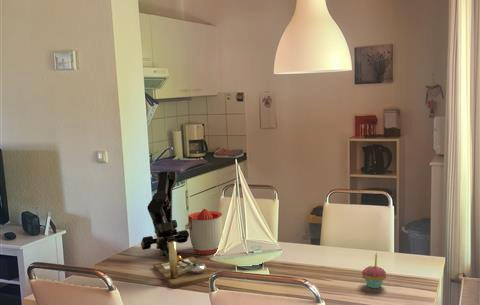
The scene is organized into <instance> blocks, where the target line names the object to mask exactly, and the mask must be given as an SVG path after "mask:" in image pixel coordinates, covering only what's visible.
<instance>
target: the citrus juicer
mask: <svg viewBox="0 0 480 305" xmlns="http://www.w3.org/2000/svg"><path fill="white" fill-rule="evenodd" d="M184 230H189V231H188V232H189V239H190V244H191V246H192V249H193V251H194V253H195V254H199V256H200V255H202V256H203V255H211V254H215V252H216V251H217V249H218V245H219V242H220V238H221V234H222V232H223V213H222V212H220V211H214V210H212V211H211V210H208V209H206V208H203V209H202V210H201V211H198V212H197V211H196V212H191V213H190V214H188V223H186V224H185V226H184ZM222 235H223V234H222Z"/></svg>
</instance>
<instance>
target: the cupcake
mask: <svg viewBox="0 0 480 305" xmlns="http://www.w3.org/2000/svg"><path fill="white" fill-rule="evenodd" d="M377 260H378V255H377V252H375V254H374V265H372V266H371V265H370V266H367V267H365V268H364V269H363V270H362V272H361V276H362V278H363V279H364V280H365V283H366V286H367V287H368V288H369V287H371V289H373V288H377V289H380V288H381V287H382V284H383V282H384V280H386V279H387V272H386V271H385V270H384V268H382V267H379V266H377V264H378V263H377V262H378V261H377ZM379 287H380V288H379Z"/></svg>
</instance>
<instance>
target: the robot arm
mask: <svg viewBox="0 0 480 305" xmlns="http://www.w3.org/2000/svg"><path fill="white" fill-rule="evenodd" d="M156 175H157V177H156V178H157V181H156V182H157V188H156V192H155V193H154V194H153V195H152V198H151V200H150V202H149V203H148V205H147V211H148V214H149V216H150V218H151V221H152V225H153V228H154V233H155V236H156V238H154V237H153V235H148V236H143V237H142V239H141V242H140V247H141V250H142V251H146V250H150V249H151V247H152V245H154V244H155V245H156V249H157V250H159V251H161V253H159V256H162V257H166V258H168V259H169V249H168V242H169V241H176V243H178V244H184V243H186V242H187V241H188V240H189V238H190V232H189V231H188V229H184V230H178V229H177V228H178V221H177V220H176V219H173V190H174V188H175V186H176V184H177V181H178V174H177V172H176V171H174V170H160V171H158V172H157V173H156ZM179 254H180V252H179V251H177V255H179Z"/></svg>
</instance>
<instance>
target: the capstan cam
mask: <svg viewBox="0 0 480 305" xmlns="http://www.w3.org/2000/svg"><path fill="white" fill-rule="evenodd" d="M168 249H169V258H168V261H169V263H170V277H171V278H177V277H178V275H179V274H182V273H185V272H189V273H192V274H199V273H203V272H205V270H206V268H207V266H206V263H203V262H200V263H192V264H190V263H188V262H186V261H184V260H182V259H183V258H182V256H181V255H179V254H177V252H178V251H177V242H176V241H169V242H168ZM177 262H183V263H185V264H187V265H188V268H185V269H181V270H178V265H177Z"/></svg>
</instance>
